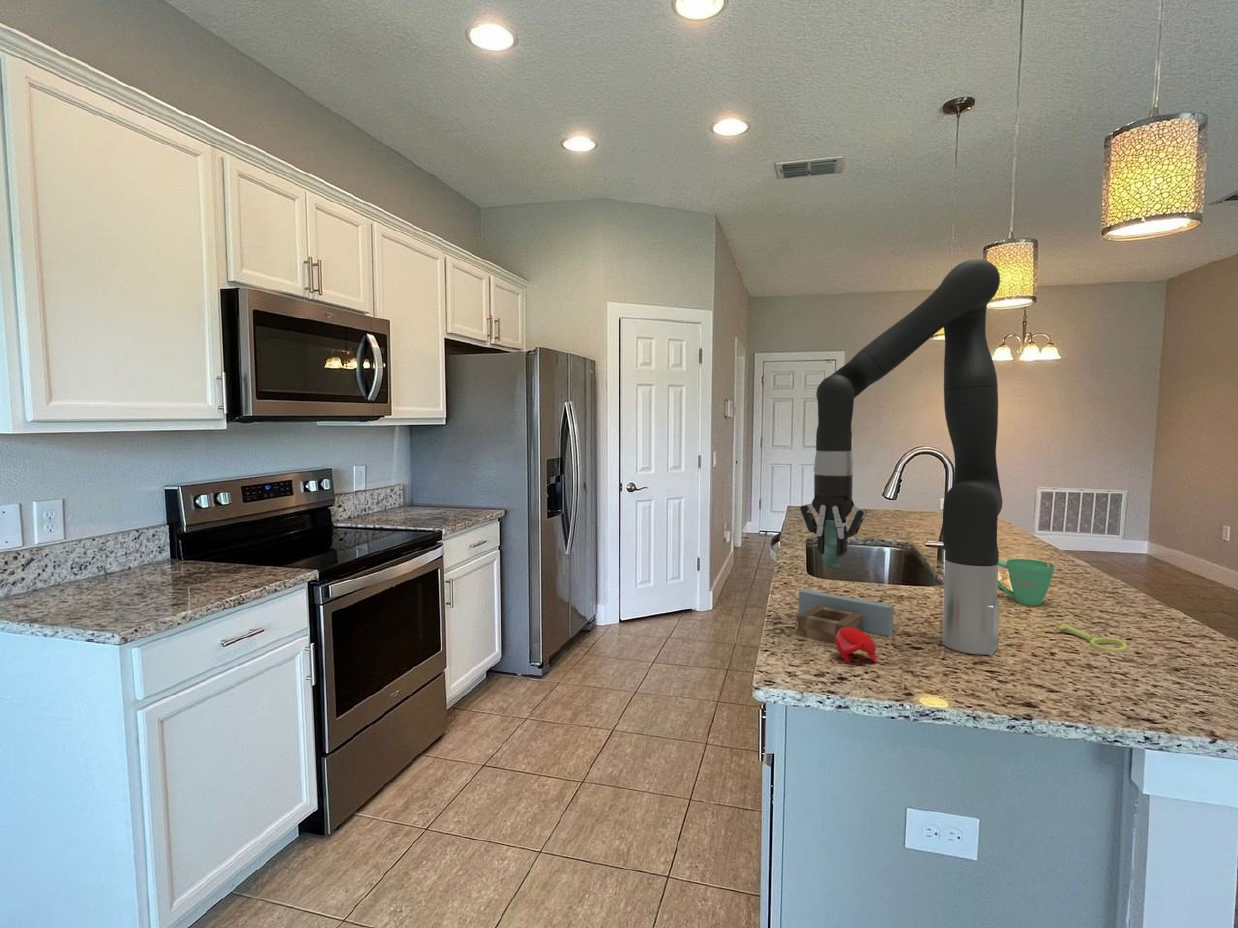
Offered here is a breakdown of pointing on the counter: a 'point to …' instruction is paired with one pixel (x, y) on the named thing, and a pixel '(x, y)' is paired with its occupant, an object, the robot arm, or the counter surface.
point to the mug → (1027, 580)
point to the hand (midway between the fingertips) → (831, 554)
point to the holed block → (827, 622)
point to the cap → (854, 643)
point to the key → (1095, 639)
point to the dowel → (831, 545)
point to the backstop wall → (852, 609)
